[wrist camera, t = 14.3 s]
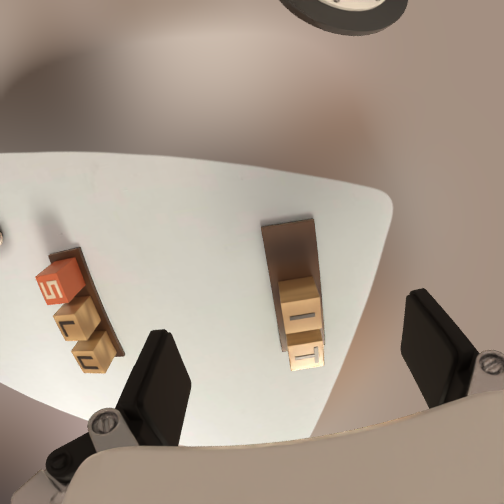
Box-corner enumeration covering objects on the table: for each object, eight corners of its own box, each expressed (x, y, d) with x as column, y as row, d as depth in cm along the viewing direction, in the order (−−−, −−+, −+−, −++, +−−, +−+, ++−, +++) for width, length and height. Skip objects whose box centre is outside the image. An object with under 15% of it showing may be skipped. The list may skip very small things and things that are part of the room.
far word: (50, 253, 37) (27, 270, 31) (80, 247, 36) (58, 264, 31) (95, 354, 43) (81, 377, 38) (125, 354, 43) (112, 378, 38)
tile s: (54, 261, 36) (34, 277, 32) (75, 256, 36) (55, 273, 31) (64, 287, 38) (46, 305, 33) (86, 284, 38) (68, 303, 33)
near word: (261, 226, 35) (261, 244, 30) (313, 218, 34) (323, 234, 29) (282, 349, 42) (284, 377, 36) (324, 342, 41) (331, 369, 36)
